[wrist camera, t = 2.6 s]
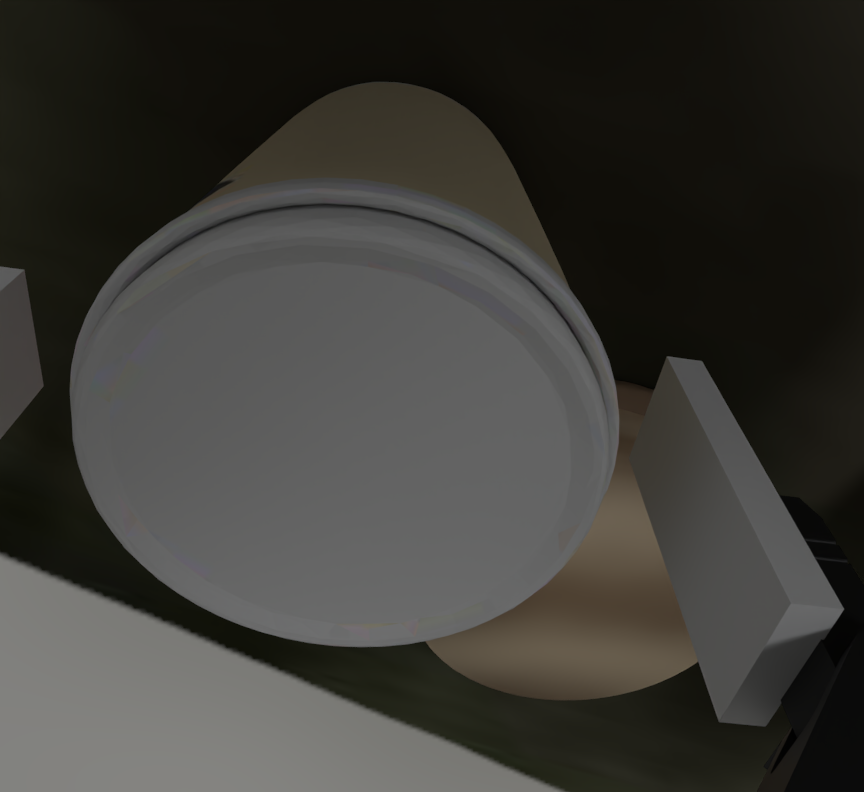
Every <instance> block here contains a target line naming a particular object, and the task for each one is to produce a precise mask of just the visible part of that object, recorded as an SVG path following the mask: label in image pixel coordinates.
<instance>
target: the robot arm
mask: <svg viewBox="0 0 864 792" xmlns="http://www.w3.org/2000/svg"><path fill="white" fill-rule="evenodd" d="M43 386H44V385H43V379H42V373H41V367H40V361H39V355H38V349H37V343H36V337H35V331H34V325H33V319H32V313H31V307H30V301H29V295H28V289H27V283H26V277H25V270H22V269H15V268H7V267H0V439H1V438H2V436H3V435H4V434H5V433H6V432H7V430H8V429H9V428H10V427H11V425H12V424H13V423H14V422H15V421H16V419H17V418H18V417H19V416H20V414H21V413H22V412H23V411H24V410H25V408H26V407H27V406H28V405H29V403H30V402H31V401H32V400H33V399H34V397H35V396H36V395H37V394H38V392H39V391H40V390H41V389H42V388H43ZM629 460H630V463H631V466H632V469H633V472H634V475H635V478H636V481H637V484H638V487H639V490H640V493H641V495H642V498H643V501H644V504H645V507H646V510H647V513H648V516H649V519H650V522H651V525H652V528H653V531H654V534H655V536H656V539H657V542H658V545H659V548H660V551H661V554H662V557H663V560H664V563H665V566H666V569H667V572H668V575H669V577H670V580H671V583H672V586H673V589H674V592H675V595H676V598H677V601H678V604H679V607H680V610H681V613H682V616H683V618H684V621H685V624H686V627H687V630H688V633H689V636H690V639H691V642H692V645H693V648H694V651H695V654H696V657H697V660H698V662H699V665H700V668H701V671H702V674H703V677H704V680H705V683H706V686H707V689H708V692H709V695H710V698H711V701H712V703H713V706H714V709H715V712H716V715H717V718H718V721H719V722H723V723H733V724H743V725H754V726H764V727H766V725H767V724H768V723H769V721H770V720H771V718H772V717H773V715H774V714H775V712H776V711H777V709H778V708H779V706H780V705H781V703H782V705H783V707H784V710H785V712H786V714H787V717H788V719H789V721H790V724H791V726H792V727H791V728H790V730H789V731H788V733H787V734H786V735H785V737H784V738H783V740H782V741H781V743H780V744H779V745H778V747H777V748H776V750H775V751H774V753H773V754H772V755H771V757H770V758H769V760H768V761H767V762H766V764H765V765H764V767H765V768H766V769H768V770H767V772H766V774H765V776H764V778H763V780H762V782H761V784H760V786H759V788H758V790H757V792H864V585H863V584H862V582H861V580H860V579H859V577H858V576H857V574H856V572H855V571H854V569H853V568H852V566H851V564H847V558H846V556H845V555H844V553H843V551H842V550H841V548H840V547H839V546H837V545H836V540H835V539H834V537H833V535H832V534H831V532H830V531H829V529H828V527H827V526H826V524H825V523H824V521H823V519H822V518H821V517H820V516H819V515H817V514H816V513H815V512H814V511H813V510H812V509H811V508H810V507H809V506H808V505H806V504H805V503H804V502H803V501H802V500H801V499H800V498H797V497H788V496H780V495H778V493H777V491H776V489H775V488H774V486H773V484H772V482H771V481H770V479H769V477H768V475H767V474H766V472H765V470H764V468H763V467H762V465H761V463H760V461H759V460H758V458H757V456H756V454H755V453H754V451H753V449H752V447H751V446H750V444H749V442H748V441H747V439H746V437H745V435H744V434H743V432H742V430H741V428H740V427H739V425H738V423H737V421H736V420H735V418H734V416H733V414H732V413H731V411H730V409H729V407H728V406H727V404H726V402H725V400H724V399H723V397H722V395H721V393H720V392H719V390H718V388H717V386H716V385H715V383H714V381H713V379H712V378H711V376H710V374H709V372H708V371H707V369H706V367H705V365H704V364H703V362H702V361H698V360H691V359H683V358H676V357H669V356H667V357H666V360H665V363H664V365H663V368H662V371H661V373H660V376H659V379H658V381H657V384H656V387H655V390H654V392H653V395H652V398H651V400H650V403H649V406H648V408H647V411H646V414H645V416H644V419H643V422H642V424H641V427H640V430H639V433H638V435H637V438H636V441H635V443H634V446H633V449H632V451H631V454H630V457H629Z"/></svg>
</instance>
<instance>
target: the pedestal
mask: <svg viewBox="0 0 864 792" xmlns="http://www.w3.org/2000/svg"><path fill="white" fill-rule="evenodd" d="M614 381H615V385H616V392H617V400H618V409H619V444H618V450H617V456H616V462H615V467H614V471H613V474H612V477H611V480H610V484H609V487H608V490H607V492H606V494H605V496H604V498H603V501H602V503H601V505H600V507H599V509H598V511H597V514H596V516H595V518H594V521H593V523H592V526H591V528H590V530H589V532H588V534H587V535H586V537H585V538H584V540H583V542H582V543H581V545H580V546H579V548H578V549H577V551H576V552H575V554H574V555H573V556H572V557H571V559H570V560H569V561H568V562H567V563H566V565H565V566H564V567H563V568H562V569H561V570H560V571H559V572H558V573H557V574H556V575H555V576H554V577H553V578H552V579H551V580H550V581H549V582H548V583H547V584H546V585H545V586H543V587H542V588H541V589H539V590H538V591H537V592H535V593H534V594H533V595H531V596H530V597H529V598H527V599H526V600H524V601H523V602H522V603H520V604H519V605H517V606H516V607H514V608H513V609H511V610H509V611H507V612H505V613H503V614H501V615H499V616H497V617H495V618H493V619H491V620H489V621H487V622H485V623H483V624H480V625H478V626H476V627H474V628H471V629H468V630H464V631H461V632H458V633H455V634H452V635H449V636H445V637H441V638H437V639H433V640H429V641H425V642H426V643H427V644H428V646H429V647H430V648H431V650H432V651H433V652H434V653H435V654H436V655H437V656H438V657H439V658H440V659H441V660H442V661H444V662H445V663H446V664H448V665H449V666H450V667H451V668H453V669H454V670H455V671H457V672H459V673H461V674H462V675H464V676H466V677H467V678H469V679H471V680H473V681H476V682H478V683H480V684H482V685H484V686H487V687H490V688H493V689H496V690H499V691H502V692H505V693H510V694H514V695H518V696H523V697H530V698H536V699H547V700H585V699H597V698H604V697H609V696H615V695H620V694H624V693H628V692H632V691H636V690H640V689H642V688H645V687H648V686H651V685H654V684H657V683H659V682H662V681H664V680H666V679H668V678H671V677H673V676H675V675H677V674H678V673H680V672H682V671H684V670H686V669H688V668H689V667H691V666H692V665H694V664H695V663H697V662H698V660H697V657H696V654H695V651H694V648H693V645H692V642H691V639H690V636H689V633H688V630H687V627H686V624H685V621H684V618H683V616H682V613H681V610H680V607H679V604H678V601H677V598H676V595H675V592H674V589H673V586H672V583H671V580H670V577H669V575H668V572H667V569H666V566H665V563H664V560H663V557H662V554H661V551H660V548H659V545H658V542H657V539H656V536H655V534H654V531H653V528H652V525H651V522H650V519H649V516H648V513H647V510H646V507H645V504H644V501H643V498H642V495H641V493H640V490H639V487H638V484H637V481H636V478H635V475H634V472H633V469H632V466H631V463H630V460H629V457H630V454H631V451H632V449H633V446H634V443H635V441H636V438H637V435H638V433H639V430H640V427H641V424H642V422H643V419H644V416H645V414H646V411H647V408H648V406H649V403H650V400H651V398H652V395H653V392H654V390H652V389H649V388H646V387H643V386H640V385H637V384H634V383H629V382H624V381H619V380H614Z"/></svg>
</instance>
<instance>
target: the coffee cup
mask: <svg viewBox="0 0 864 792" xmlns="http://www.w3.org/2000/svg"><path fill="white" fill-rule="evenodd" d="M70 403H71V416H72V434H73V444H74V449H75V453H76V458H77V463H78V466H79V469H80V472H81V474H82V477H83V480H84V483H85V486H86V488H87V490H88V492H89V494H90V496H91V498H92V500H93V502H94V505H95V507H96V509H97V511H98V512H99V514H100V515H101V516H102V518H103V519H104V521H105V522H106V524H107V525H108V527H109V528H110V530H111V531H112V532H113V534H114V535H115V536H116V538H117V539H118V540H119V541H120V543H121V544H122V545H123V547H124V548H125V549H126V550H127V551H128V552H129V553H130V554H131V555H132V556H133V557H134V558H135V559H136V560H137V561H138V562H140V563H141V564H142V565H143V566H144V567H145V568H146V569H147V570H148V571H150V572H151V573H152V574H153V575H154V576H155V577H156V578H157V579H158V580H160V581H161V582H163V583H164V584H166V585H167V586H168V587H170V588H171V589H173V590H174V591H175V592H177V593H178V594H180V595H182V596H183V597H185V598H186V599H188V600H190V601H191V602H193V603H195V604H196V605H198V606H200V607H202V608H204V609H206V610H208V611H210V612H212V613H214V614H216V615H218V616H220V617H222V618H225V619H227V620H230V621H232V622H234V623H237V624H239V625H242V626H245V627H248V628H251V629H254V630H257V631H260V632H263V633H267V634H271V635H274V636H278V637H282V638H285V639H291V640H296V641H301V642H306V643H313V644H322V645H330V646H345V647H384V646H394V645H404V644H411V643H417V642H423V641H429V640H433V639H437V638H441V637H445V636H449V635H452V634H455V633H458V632H461V631H464V630H468V629H471V628H474V627H476V626H478V625H480V624H483V623H485V622H487V621H489V620H491V619H493V618H495V617H497V616H499V615H501V614H503V613H505V612H507V611H509V610H511V609H513V608H514V607H516V606H517V605H519V604H520V603H522V602H523V601H524V600H526V599H527V598H529V597H530V596H531V595H533V594H534V593H535V592H537V591H538V590H539V589H541V588H542V587H543V586H545V585H546V584H547V583H548V582H549V581H550V580H551V579H552V578H553V577H554V576H555V575H556V574H557V573H558V572H559V571H560V570H561V569H562V568H563V567H564V566H565V565H566V563H567V562H568V561H569V560H570V559H571V557H572V556H573V555H574V554H575V552H576V551H577V549H578V548H579V546H580V545H581V543H582V542H583V540H584V538H585V537H586V535H587V534H588V532H589V530H590V528H591V526H592V523H593V521H594V518H595V516H596V514H597V511H598V509H599V507H600V505H601V503H602V501H603V498H604V496H605V494H606V492H607V490H608V487H609V484H610V480H611V477H612V474H613V471H614V467H615V462H616V456H617V450H618V444H619V409H618V400H617V392H616V385H615V381H614V377H613V373H612V369H611V365H610V362H609V359H608V357H607V354H606V352H605V349H604V347H603V344H602V342H601V339H600V337H599V335H598V333H597V332H596V330H595V328H594V326H593V324H592V323H591V321H590V319H589V317H588V316H587V314H586V312H585V310H584V309H583V307H582V305H581V304H580V302H579V301H578V299H577V298H576V297H575V295H574V294H573V293H572V291H571V290H570V288H569V285H568V283H567V281H566V278H565V276H564V274H563V271H562V269H561V267H560V265H559V263H558V261H557V258H556V256H555V254H554V252H553V250H552V247H551V245H550V243H549V241H548V239H547V237H546V234H545V232H544V230H543V228H542V226H541V223H540V221H539V219H538V217H537V215H536V213H535V211H534V209H533V207H532V205H531V202H530V200H529V198H528V196H527V194H526V192H525V190H524V188H523V186H522V184H521V182H520V179H519V177H518V175H517V173H516V171H515V169H514V167H513V165H512V164H511V162H510V160H509V158H508V156H507V155H506V153H505V151H504V150H503V148H502V146H501V145H500V143H499V142H498V141H497V139H496V138H495V136H494V135H493V134H492V132H491V131H490V130H489V129H488V128H487V127H486V126H485V125H484V124H483V123H482V121H481V120H480V119H479V118H478V117H476V116H475V115H474V114H473V113H472V112H470V111H469V110H468V109H467V108H465V107H464V106H462V105H461V104H459V103H457V102H456V101H454V100H453V99H451V98H449V97H447V96H445V95H443V94H441V93H438V92H435V91H433V90H430V89H427V88H423V87H419V86H415V85H412V84H405V83H398V82H370V83H363V84H357V85H354V86H350V87H346V88H343V89H340V90H337V91H335V92H332V93H330V94H328V95H326V96H324V97H322V98H321V99H319V100H317V101H315V102H314V103H312V104H311V105H309V106H308V107H306V108H305V109H303V110H302V111H301V112H299V113H298V114H297V115H295V116H294V117H293V118H292V119H290V120H289V121H288V122H287V123H286V124H285V125H284V126H282V127H281V128H280V129H279V130H278V131H277V132H276V133H274V134H273V135H272V136H271V137H270V138H269V139H268V140H266V141H265V142H264V143H263V144H262V145H261V146H260V147H259V148H257V149H256V150H255V151H254V152H253V153H252V154H251V155H249V156H248V157H247V158H246V159H245V160H244V161H243V162H241V163H240V164H239V165H238V166H237V167H236V168H235V169H234V170H232V171H231V172H230V173H229V174H228V175H227V176H226V177H225V178H224V179H223V180H221V181H220V182H219V183H218V184H217V185H216V186H215V187H214V188H213V189H212V190H211V191H209V192H208V193H207V194H206V195H205V196H204V197H203V198H202V199H201V200H200V201H198V202H197V203H196V204H195V205H194V206H193V207H192V208H191V209H190V210H189V211H187V212H186V213H185V214H183V215H181V216H179V217H178V218H176V219H174V220H173V221H171V222H169V223H168V224H167V225H165V226H164V227H163V228H161V229H160V230H159V231H157V232H156V233H155V234H153V235H152V236H151V237H150V238H148V239H147V240H146V241H144V242H143V243H142V244H140V245H139V246H138V247H137V248H136V249H135V250H134V251H133V252H132V253H131V254H130V255H129V256H128V257H127V258H126V259H125V260H124V261H123V262H122V263H121V264H120V265H119V266H118V267H117V268H116V270H115V271H114V272H113V274H112V275H111V276H110V278H109V279H108V280H107V282H106V283H105V284H104V286H103V287H102V288H101V290H100V292H99V294H98V296H97V297H96V299H95V301H94V303H93V305H92V306H91V308H90V310H89V312H88V314H87V316H86V318H85V321H84V323H83V326H82V328H81V331H80V334H79V336H78V339H77V342H76V346H75V351H74V356H73V360H72V365H71V378H70Z"/></svg>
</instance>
